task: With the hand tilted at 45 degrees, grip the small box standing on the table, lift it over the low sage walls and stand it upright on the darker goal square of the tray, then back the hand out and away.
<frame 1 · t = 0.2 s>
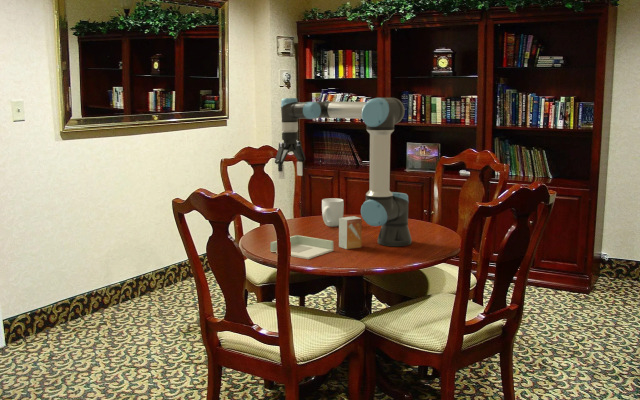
hand: (290, 177, 314), 28 cm above the table, tool pointing down, fingers open, 13 cm apart
small box: (350, 247, 294), on the table
tray: (302, 251, 286), on the table
mug: (331, 226, 339), on the table
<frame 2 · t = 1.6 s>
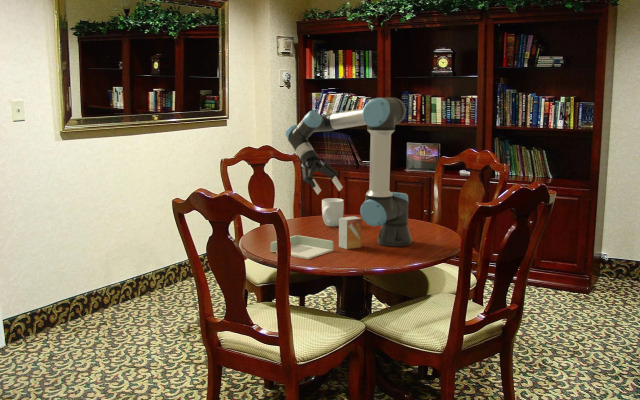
hand: (330, 190, 298), 24 cm above the table, tool tilted 45°, fingers open, 13 cm apart
nothing on the table moved.
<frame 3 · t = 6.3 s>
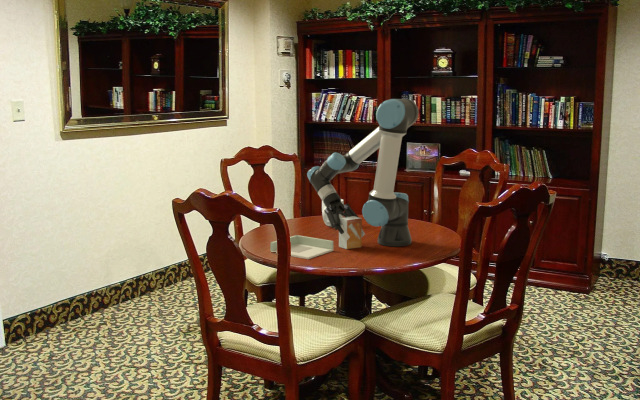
hand: (355, 237, 291), 5 cm above the table, tool tilted 45°, fingers closed on small box, 9 cm apart
small box: (350, 247, 294), on the table, touching gripper
everything else where it was.
when the fingers open (8 cm above the table, at t = 13.5 s): small box drops 2 cm, resting on tray.
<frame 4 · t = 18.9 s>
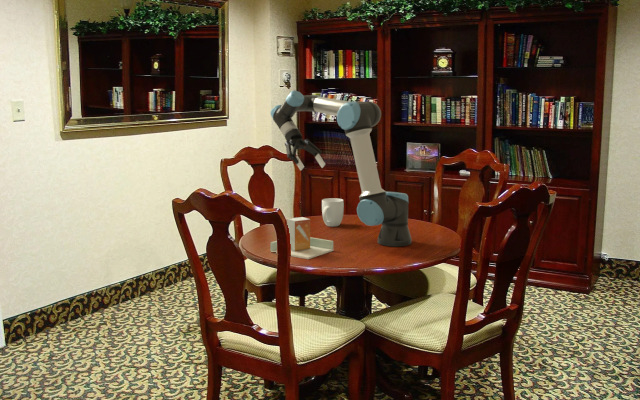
hand: (313, 167, 309), 33 cm above the table, tool tilted 45°, fingers open, 13 cm apart
small box: (298, 249, 287), point 1 cm above the table, touching tray
everything else where it was.
at the end: small box inside the target area on the tray (0.4 cm from its centre), point 0.7 cm above the tray's base; small box tilted 0°; the gripper is holding nothing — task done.
